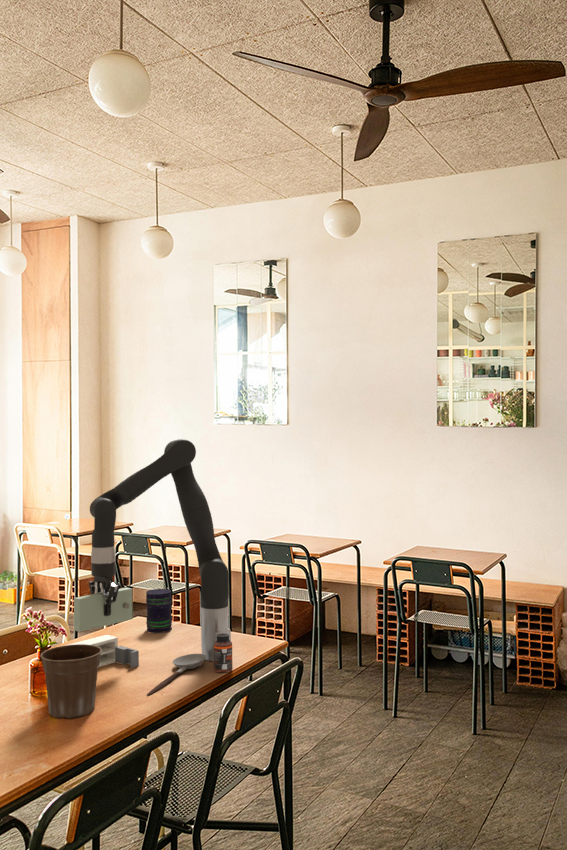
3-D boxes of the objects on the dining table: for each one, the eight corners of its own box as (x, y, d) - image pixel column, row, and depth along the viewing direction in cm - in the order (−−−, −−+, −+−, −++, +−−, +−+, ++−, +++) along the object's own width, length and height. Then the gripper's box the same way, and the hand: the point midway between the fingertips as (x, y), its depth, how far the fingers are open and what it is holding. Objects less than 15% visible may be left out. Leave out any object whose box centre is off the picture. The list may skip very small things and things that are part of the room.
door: (134, 619, 239) (134, 588, 239) (81, 632, 224) (81, 599, 224) (126, 617, 242) (126, 587, 242) (74, 630, 227) (73, 598, 227)
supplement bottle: (229, 673, 230) (229, 637, 230) (211, 672, 231) (210, 636, 231) (234, 667, 235) (234, 632, 236) (217, 667, 237) (216, 631, 237)
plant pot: (80, 696, 212) (79, 640, 212) (114, 708, 202) (114, 649, 202) (29, 713, 199) (28, 653, 200) (63, 727, 189) (63, 664, 189)
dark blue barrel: (170, 632, 280) (169, 593, 280) (144, 633, 280) (143, 594, 280) (173, 626, 290) (173, 588, 290) (148, 626, 290) (148, 589, 290)
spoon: (212, 662, 240) (211, 653, 240) (164, 701, 209) (163, 691, 209) (183, 662, 244) (182, 653, 244) (131, 701, 213) (130, 691, 213)
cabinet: (138, 665, 239) (138, 641, 240) (79, 684, 222) (78, 657, 222) (110, 657, 250) (110, 633, 250) (51, 674, 232) (50, 649, 233)
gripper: (80, 560, 235) (81, 613, 235) (106, 564, 226) (107, 620, 226) (100, 556, 241) (100, 609, 241) (126, 561, 232) (127, 615, 231)
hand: (104, 614), depth 233 cm, fingers closed on door, 3 cm apart
